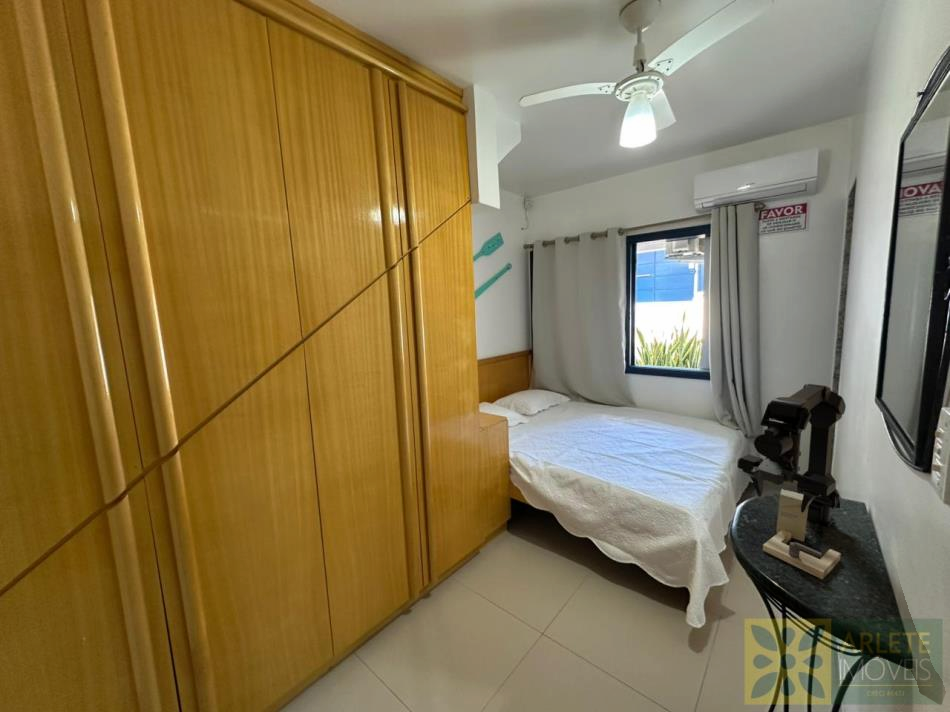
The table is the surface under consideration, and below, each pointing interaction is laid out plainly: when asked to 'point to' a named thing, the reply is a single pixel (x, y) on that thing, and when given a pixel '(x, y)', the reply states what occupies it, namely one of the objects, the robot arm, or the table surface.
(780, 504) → the skincare box
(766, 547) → the beige c-shaped bracket
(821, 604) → the table surface
